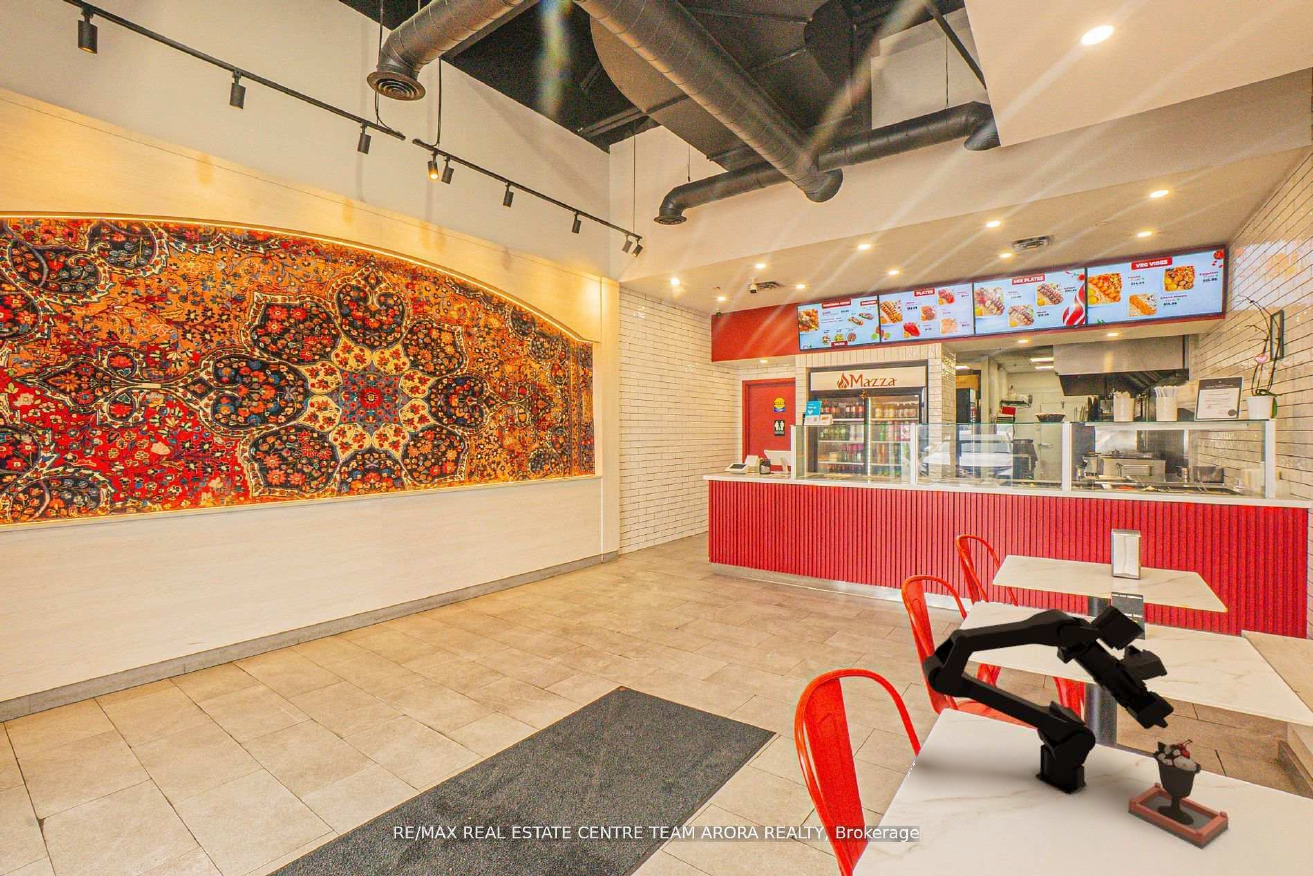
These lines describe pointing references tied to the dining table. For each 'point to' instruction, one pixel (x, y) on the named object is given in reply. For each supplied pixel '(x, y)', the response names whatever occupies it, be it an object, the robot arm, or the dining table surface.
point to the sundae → (1176, 778)
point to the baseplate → (1197, 833)
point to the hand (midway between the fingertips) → (1165, 726)
